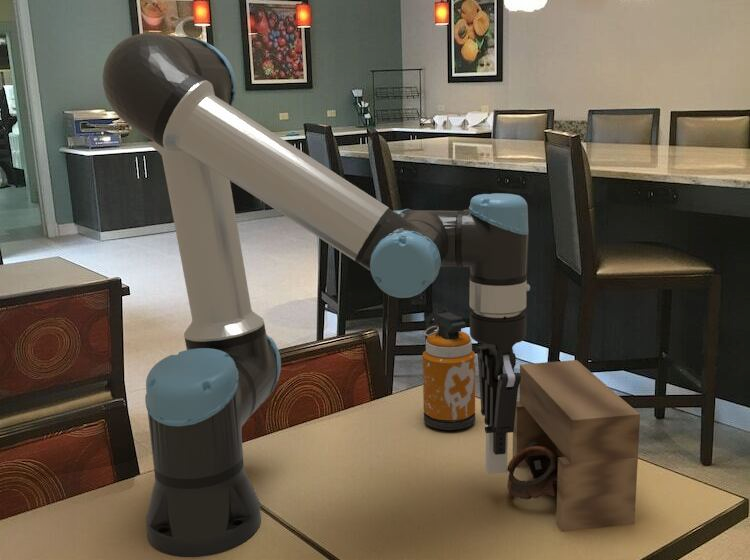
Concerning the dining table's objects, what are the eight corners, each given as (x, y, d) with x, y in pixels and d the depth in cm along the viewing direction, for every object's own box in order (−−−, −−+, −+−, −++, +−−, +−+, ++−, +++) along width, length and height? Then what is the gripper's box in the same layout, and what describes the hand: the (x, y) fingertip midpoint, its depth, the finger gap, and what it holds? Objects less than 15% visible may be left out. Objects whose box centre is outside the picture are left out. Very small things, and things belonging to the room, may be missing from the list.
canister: (439, 437, 133) (437, 323, 128) (409, 414, 143) (407, 307, 138) (485, 426, 137) (485, 315, 132) (453, 404, 146) (452, 300, 142)
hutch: (561, 534, 103) (564, 420, 100) (512, 461, 124) (513, 364, 120) (634, 526, 105) (640, 414, 101) (573, 455, 125) (576, 359, 121)
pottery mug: (592, 511, 109) (570, 471, 105) (530, 539, 110) (506, 500, 107) (567, 456, 120) (546, 417, 116) (510, 481, 121) (488, 444, 117)
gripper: (541, 322, 100) (537, 491, 106) (510, 296, 113) (508, 448, 119) (484, 325, 99) (482, 496, 105) (459, 299, 112) (459, 452, 118)
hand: (496, 470), depth 112 cm, fingers closed
